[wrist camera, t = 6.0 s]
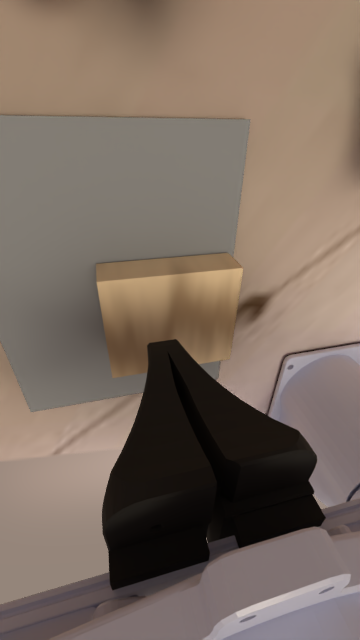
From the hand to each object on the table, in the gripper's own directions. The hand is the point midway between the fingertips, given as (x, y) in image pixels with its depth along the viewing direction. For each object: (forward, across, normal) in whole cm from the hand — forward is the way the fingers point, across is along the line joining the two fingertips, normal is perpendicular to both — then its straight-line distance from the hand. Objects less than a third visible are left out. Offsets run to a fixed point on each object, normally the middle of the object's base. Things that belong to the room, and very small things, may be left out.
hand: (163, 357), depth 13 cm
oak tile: (+3, +2, 0) cm, 4 cm away
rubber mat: (+5, +2, -1) cm, 5 cm away
